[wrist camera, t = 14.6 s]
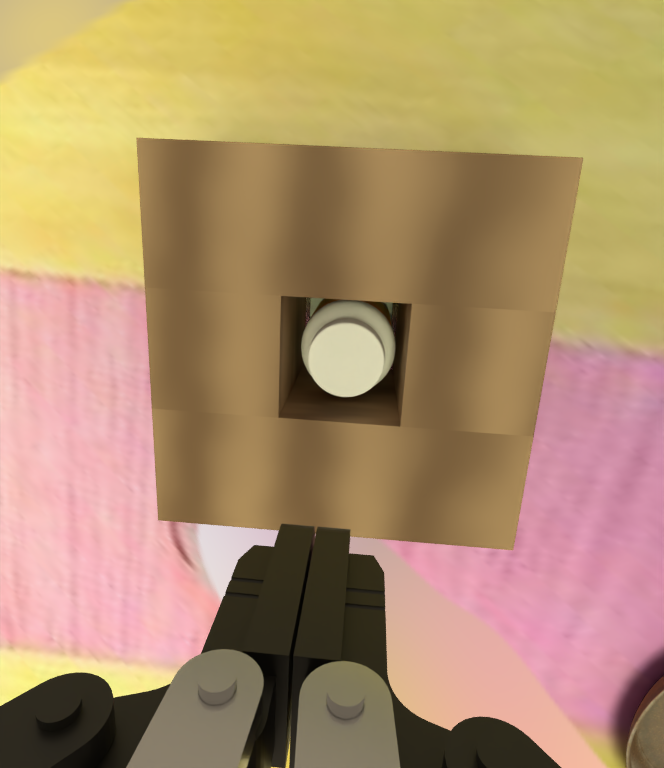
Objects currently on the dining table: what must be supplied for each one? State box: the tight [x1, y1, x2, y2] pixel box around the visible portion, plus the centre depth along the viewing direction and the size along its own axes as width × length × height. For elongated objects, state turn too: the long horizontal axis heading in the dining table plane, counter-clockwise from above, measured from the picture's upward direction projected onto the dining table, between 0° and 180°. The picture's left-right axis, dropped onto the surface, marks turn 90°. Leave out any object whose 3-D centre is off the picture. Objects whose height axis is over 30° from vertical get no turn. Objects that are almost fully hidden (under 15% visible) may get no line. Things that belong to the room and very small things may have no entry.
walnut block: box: [137, 138, 583, 550], centre depth 32 cm, size 20×20×11 cm
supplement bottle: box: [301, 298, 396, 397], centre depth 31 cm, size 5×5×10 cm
